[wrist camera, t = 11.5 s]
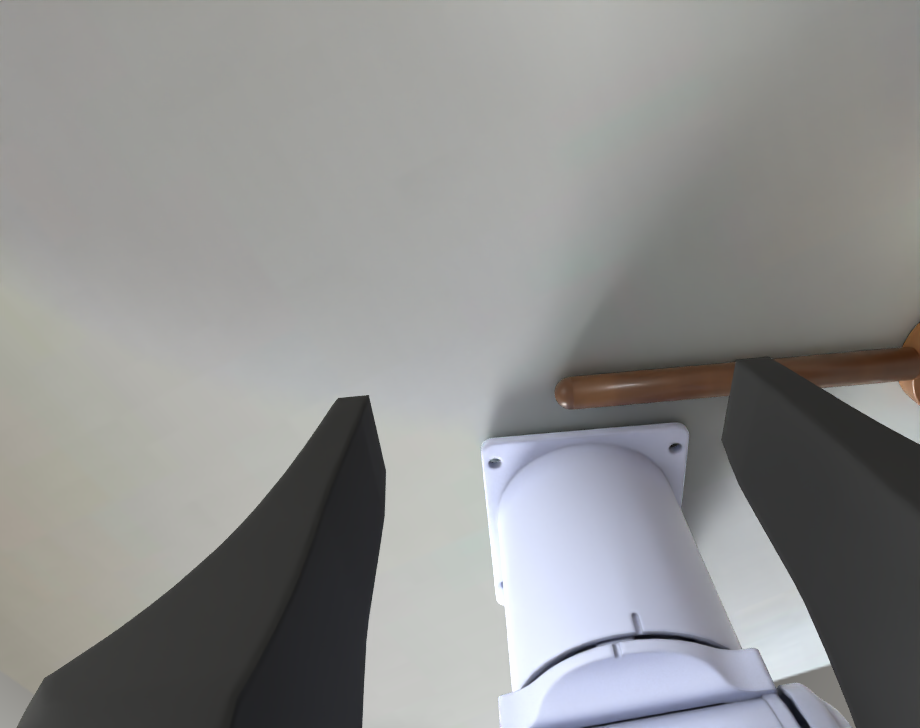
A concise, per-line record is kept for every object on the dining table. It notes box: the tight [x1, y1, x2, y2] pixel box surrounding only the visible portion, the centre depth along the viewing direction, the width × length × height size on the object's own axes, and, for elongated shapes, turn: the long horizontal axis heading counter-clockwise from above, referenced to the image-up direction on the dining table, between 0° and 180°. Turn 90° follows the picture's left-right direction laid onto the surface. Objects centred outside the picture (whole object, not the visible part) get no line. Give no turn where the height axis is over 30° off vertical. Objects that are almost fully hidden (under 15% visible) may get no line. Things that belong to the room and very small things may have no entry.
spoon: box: [555, 322, 920, 409], centre depth 22 cm, size 18×5×1 cm, turn 96°
